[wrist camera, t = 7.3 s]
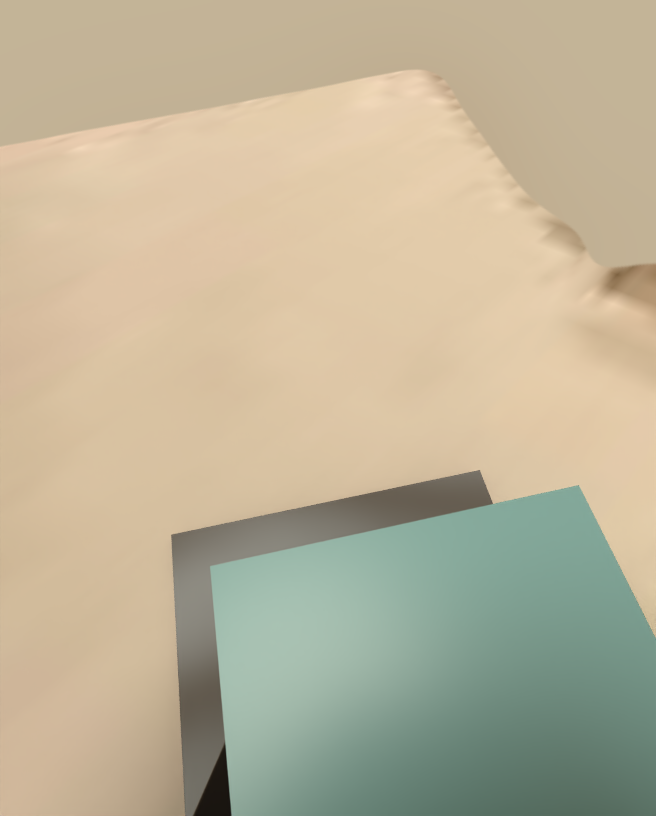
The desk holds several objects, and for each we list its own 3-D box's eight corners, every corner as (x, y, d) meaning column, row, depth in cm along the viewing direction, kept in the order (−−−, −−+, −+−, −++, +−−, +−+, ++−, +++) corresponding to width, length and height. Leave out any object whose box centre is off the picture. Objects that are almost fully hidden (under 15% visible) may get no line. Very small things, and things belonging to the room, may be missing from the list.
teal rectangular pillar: (486, 769, 14) (858, 1041, 4) (310, 820, 13) (271, 1274, 4) (429, 581, 16) (578, 485, 7) (279, 617, 16) (210, 565, 6)
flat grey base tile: (630, 871, 15) (747, 956, 11) (201, 1010, 13) (146, 1171, 9) (475, 474, 21) (511, 433, 17) (175, 537, 20) (136, 509, 16)
